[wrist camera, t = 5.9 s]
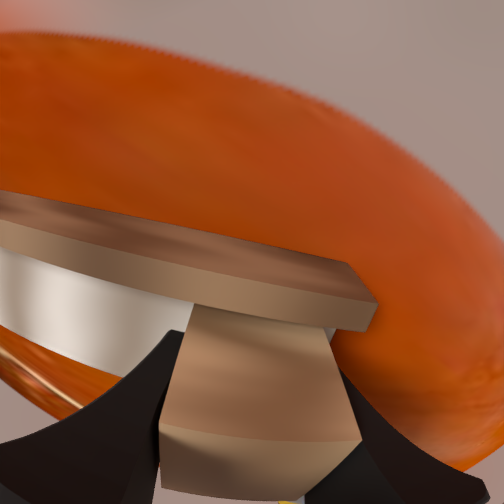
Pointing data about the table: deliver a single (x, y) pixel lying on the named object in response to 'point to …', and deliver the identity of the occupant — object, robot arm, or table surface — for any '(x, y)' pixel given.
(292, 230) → the table surface
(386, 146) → the table surface
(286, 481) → the block
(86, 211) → the board
